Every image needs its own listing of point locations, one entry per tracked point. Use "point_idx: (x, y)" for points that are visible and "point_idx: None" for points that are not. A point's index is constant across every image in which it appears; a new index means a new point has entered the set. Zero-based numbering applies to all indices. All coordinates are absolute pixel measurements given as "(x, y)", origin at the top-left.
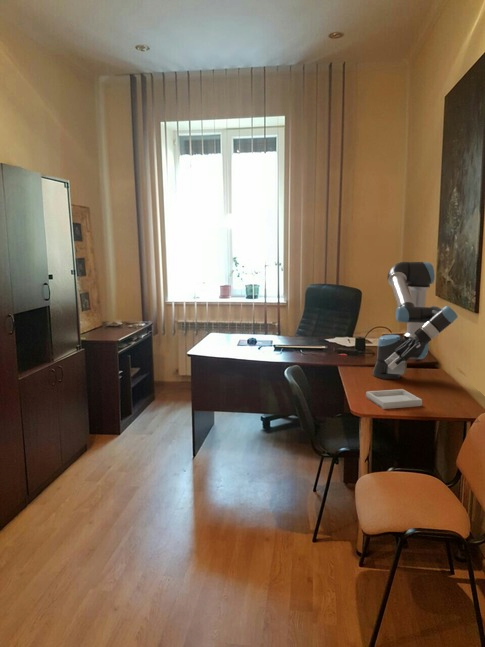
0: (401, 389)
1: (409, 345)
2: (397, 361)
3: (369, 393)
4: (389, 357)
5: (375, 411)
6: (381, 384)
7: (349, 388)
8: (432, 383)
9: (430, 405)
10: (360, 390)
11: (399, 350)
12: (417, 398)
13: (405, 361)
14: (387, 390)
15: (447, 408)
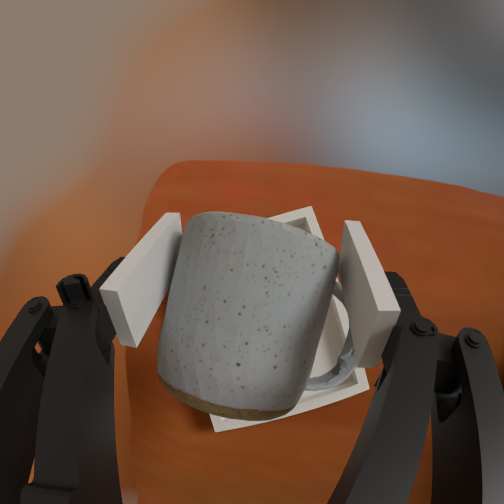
0: (363, 381)
1: (27, 494)
2: (105, 273)
3: (286, 214)
4: (255, 217)
5: (153, 223)
6: (476, 315)
7: (406, 178)
8: None
9: (230, 457)
10: (394, 213)
11: (386, 380)
12: (232, 419)
13: (180, 393)
14: (343, 309)
15: (203, 495)
